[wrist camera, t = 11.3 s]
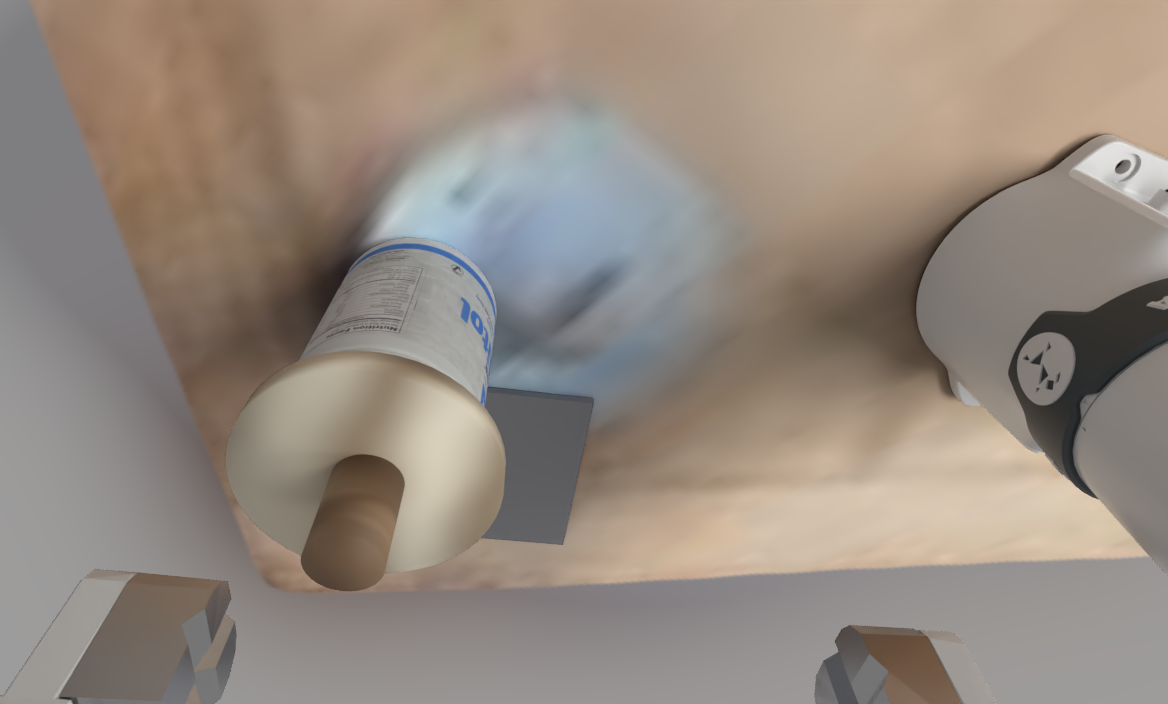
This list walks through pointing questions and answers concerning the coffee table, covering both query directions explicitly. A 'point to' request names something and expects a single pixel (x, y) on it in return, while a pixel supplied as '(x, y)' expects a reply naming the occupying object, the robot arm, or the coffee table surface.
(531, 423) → the mat
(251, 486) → the lid
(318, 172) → the coffee table surface
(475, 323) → the supplement tub
